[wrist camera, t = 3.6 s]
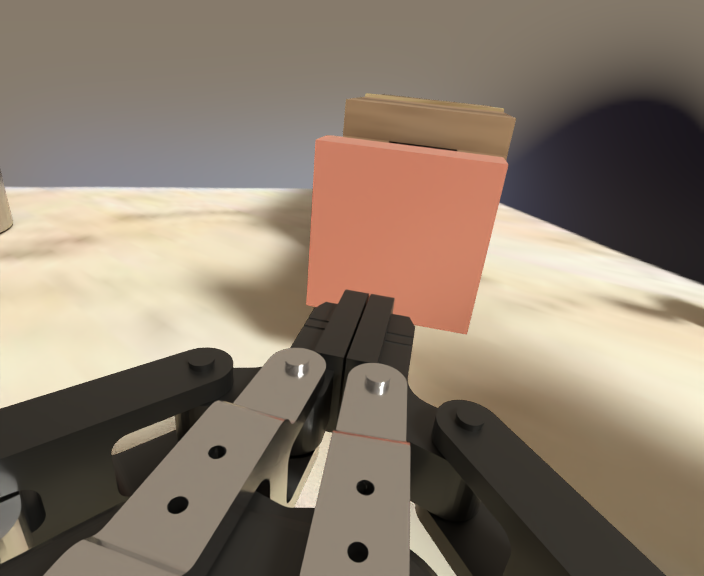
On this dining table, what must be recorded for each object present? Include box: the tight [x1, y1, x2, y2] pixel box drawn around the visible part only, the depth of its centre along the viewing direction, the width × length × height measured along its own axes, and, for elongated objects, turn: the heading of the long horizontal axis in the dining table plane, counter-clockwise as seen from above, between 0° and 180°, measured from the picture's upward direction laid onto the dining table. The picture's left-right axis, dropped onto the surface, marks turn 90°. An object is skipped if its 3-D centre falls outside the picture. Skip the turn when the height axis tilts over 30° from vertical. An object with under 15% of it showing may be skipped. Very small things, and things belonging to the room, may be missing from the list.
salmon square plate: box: [306, 135, 508, 334], centre depth 29 cm, size 20×8×8 cm, turn 169°
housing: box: [343, 93, 516, 161], centre depth 43 cm, size 20×12×13 cm, turn 169°
